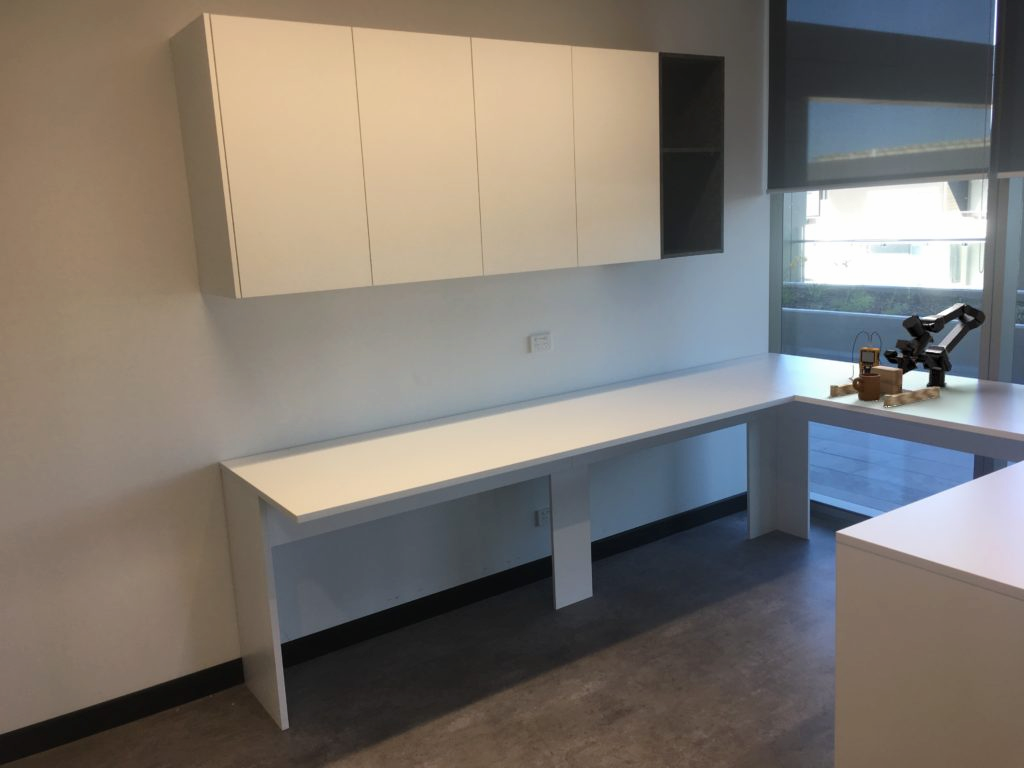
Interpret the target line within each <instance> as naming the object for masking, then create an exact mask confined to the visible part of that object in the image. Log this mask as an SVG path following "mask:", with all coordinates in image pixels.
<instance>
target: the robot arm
mask: <svg viewBox="0 0 1024 768" xmlns="http://www.w3.org/2000/svg"><path fill="white" fill-rule="evenodd" d="M955 319H957V320H958V323H957V324H956V325H955V326H954V328H953V329H951V331H950V332H949V333H948V334H947V335H946V336H945V337H944V338H943V340H942V341H941V342H940V343H939V344H938V345H931V344H933V343H935V339H934V336H933V335H931V334H930V333H932V334H938V333H940V332H941V331H943V329H944V328H945V325H946V324H948V323H950V322H952V321H954V320H955ZM985 320H986V315H985V313H984V311H983V310H981V309H980V310H979V309H977V308H975V307H973V306H971V305H970V304H967V303H961V302H957V303H954V304H953V305H952V306H950V307H948V308H947V309H944V310H942V311H941V312H939V313H937V314H934V315H928V316H924V317H922V318H920V316H919V314H912V315H911V316H909V317H907V318H906V319H904V320H903V321H902V327H903V328H904V330H905V331H906V333H907V334H908V335H909V336H910V337H912V338H911V339H910V340H908V339H899V338H898V339H897V340H896V343H895V345H894V346H895V347H894V348H896V349H899V352H900V353H899V352H898V351H897V350H893V349H885V351H884V353H883V355H882V356H884V358H885V359H886V360H887V362H888V363H889V364H893V365H897V367H896V368H899V369H903V376H905V375H906V374H908V373H910V372H911V371H913V370H915V369H919V367H918V366H919V365H920V364H922V366H923V370H928V382H927V383H926V387H935V386H936V387H940V388H946V386H947V384H948V383H947V382H946V372H947V373H949V372H951V371H952V367H953V365H952V363H951V362H950V354H951V352H952V351H953V350H954V349H955V348H956V346H957V345H958V344H959V343H960V342H961V341H962V340H963V339H964V337H965V336H966V335H968V333H969V332H970V331H973V330H975V329H978V328H979V327H980V326H982V325H983V323H984V322H985ZM929 343H931V344H930V346H928V344H929ZM927 346H928V348H927ZM926 348H927V349H926ZM925 349H926V350H925Z"/></svg>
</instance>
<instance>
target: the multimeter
mask: <svg viewBox="0 0 1024 768" xmlns="http://www.w3.org/2000/svg"><path fill="white" fill-rule="evenodd" d="M861 333H863V331H860V332H859V333H858V334H857V335H856V337H855V340H854V343H853V347H852V354H851V355H852V361H854V348H855V344H856V341H857V338H858V336H859V335H860V334H861ZM864 333H865V334H866V335H867V336H868V342H867V347H866V346H865V347H860V348H859V359H858V369H859V373H858V375H859V374H862V373H871V367H876V366H883V365H882V362H881V360H880V359H881V358H880V355H881V351H882V346H880V347H879V348H874V347H873V345H872V337H873V335H874V333H875V334H876V335H877V336H878V338H879V340H880V345H882V343H883V342H882V339H881V336H880V335H879V334H878V332H876V331H874V332H872V334H871V336H870V334H869V333H868V332H867V331H864ZM854 368H855V367H854V366H852V376H851V377H849V378H848V379H849V380H851V381H853V380H854V370H855V369H854Z"/></svg>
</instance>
